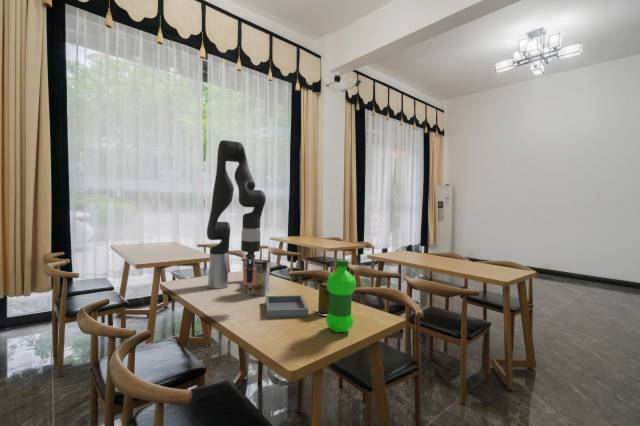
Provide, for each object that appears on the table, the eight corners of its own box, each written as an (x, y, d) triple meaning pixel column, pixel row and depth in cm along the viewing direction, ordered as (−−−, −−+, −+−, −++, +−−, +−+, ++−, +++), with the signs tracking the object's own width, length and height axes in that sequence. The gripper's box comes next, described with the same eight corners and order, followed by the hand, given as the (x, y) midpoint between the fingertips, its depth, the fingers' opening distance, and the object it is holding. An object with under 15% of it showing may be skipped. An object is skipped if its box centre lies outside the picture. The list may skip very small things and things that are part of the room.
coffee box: (246, 294, 147) (247, 261, 146) (251, 291, 153) (252, 258, 152) (265, 296, 146) (266, 262, 145) (269, 292, 152) (270, 259, 152)
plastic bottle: (359, 330, 110) (362, 261, 109) (340, 339, 103) (343, 264, 102) (338, 322, 117) (341, 256, 116) (319, 329, 110) (321, 259, 109)
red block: (243, 284, 123) (243, 269, 123) (243, 281, 128) (243, 266, 128) (255, 284, 124) (256, 269, 124) (255, 281, 129) (256, 266, 129)
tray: (267, 318, 119) (267, 310, 119) (265, 302, 136) (265, 296, 136) (308, 316, 122) (308, 309, 122) (301, 301, 140) (301, 295, 140)
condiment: (329, 308, 132) (330, 280, 132) (338, 315, 124) (340, 286, 124) (313, 310, 129) (314, 282, 128) (322, 318, 121) (323, 287, 121)
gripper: (242, 236, 131) (240, 276, 132) (240, 241, 117) (239, 285, 118) (260, 236, 133) (258, 276, 134) (260, 241, 119) (259, 285, 120)
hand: (249, 280), depth 126 cm, fingers closed on red block, 5 cm apart
